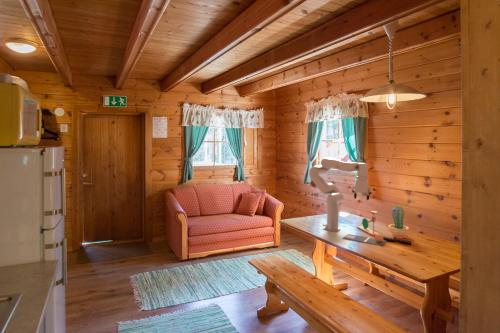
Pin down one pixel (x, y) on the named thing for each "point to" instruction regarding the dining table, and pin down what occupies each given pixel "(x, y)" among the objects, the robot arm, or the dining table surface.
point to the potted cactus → (398, 223)
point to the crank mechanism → (365, 225)
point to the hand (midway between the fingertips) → (361, 199)
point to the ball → (379, 238)
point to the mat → (363, 239)
